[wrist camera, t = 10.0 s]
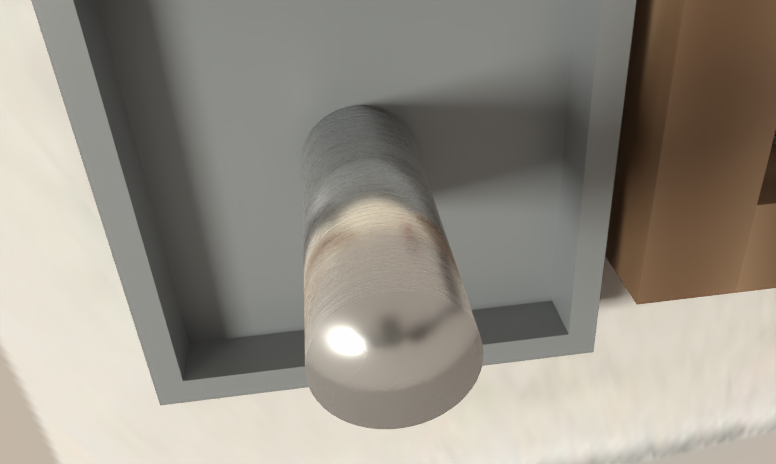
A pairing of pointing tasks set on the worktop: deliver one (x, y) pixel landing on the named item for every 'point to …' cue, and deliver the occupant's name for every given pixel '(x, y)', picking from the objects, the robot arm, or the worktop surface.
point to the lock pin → (380, 278)
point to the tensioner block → (697, 152)
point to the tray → (284, 161)
